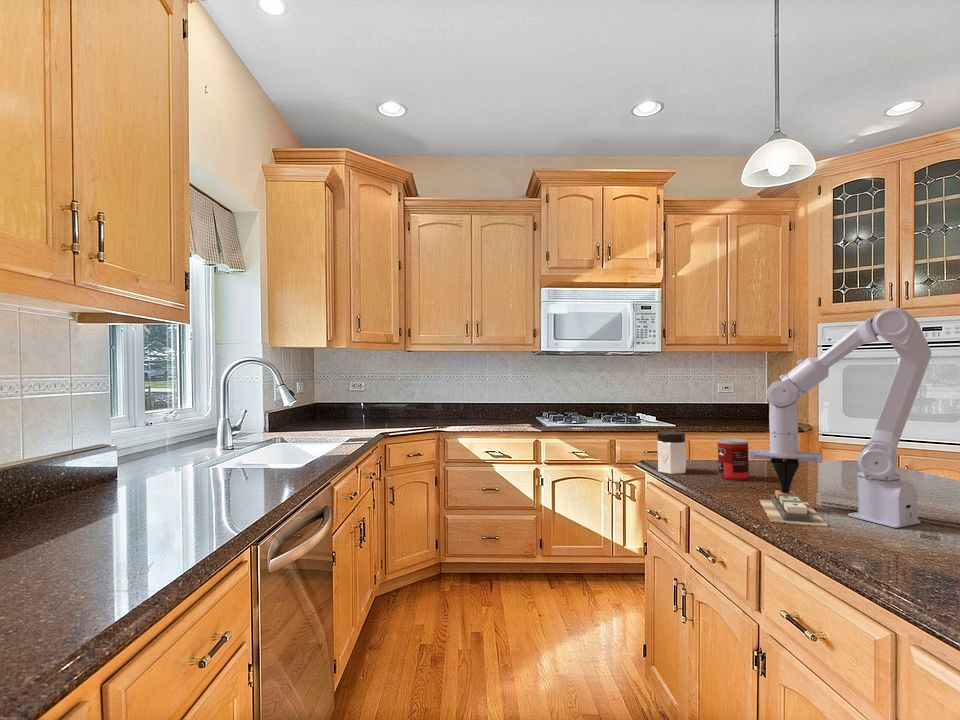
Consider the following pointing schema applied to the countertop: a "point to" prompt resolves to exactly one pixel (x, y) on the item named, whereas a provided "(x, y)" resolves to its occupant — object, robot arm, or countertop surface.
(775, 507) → the key board
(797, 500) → the key two
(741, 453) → the canned food
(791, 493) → the key three
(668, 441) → the jar
